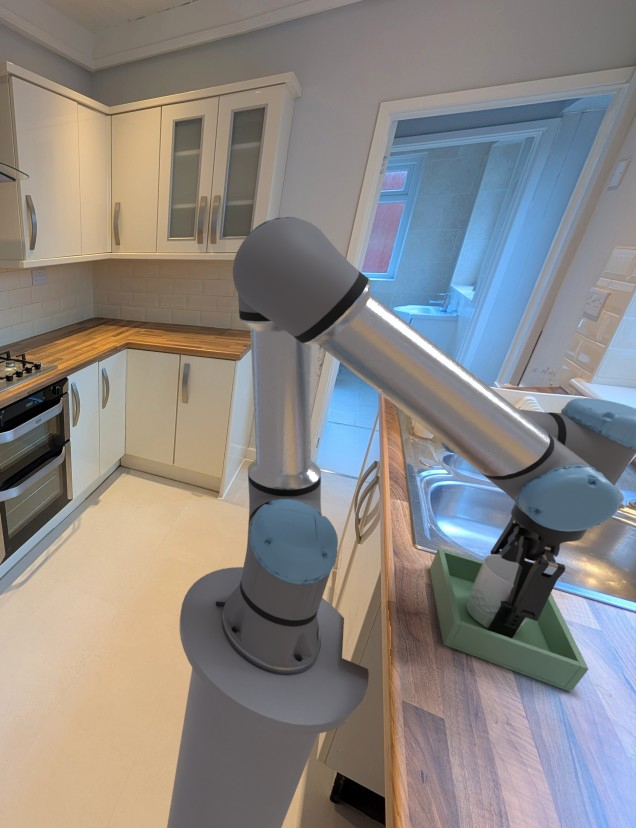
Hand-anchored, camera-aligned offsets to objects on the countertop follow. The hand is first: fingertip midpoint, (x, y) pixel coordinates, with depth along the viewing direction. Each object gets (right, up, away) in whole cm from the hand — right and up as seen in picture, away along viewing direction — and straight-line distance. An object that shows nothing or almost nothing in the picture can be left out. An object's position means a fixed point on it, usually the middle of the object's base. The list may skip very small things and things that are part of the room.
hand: (492, 616), depth 70 cm
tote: (0, -1, +1) cm, 1 cm away
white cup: (0, 0, 0) cm, 0 cm away
